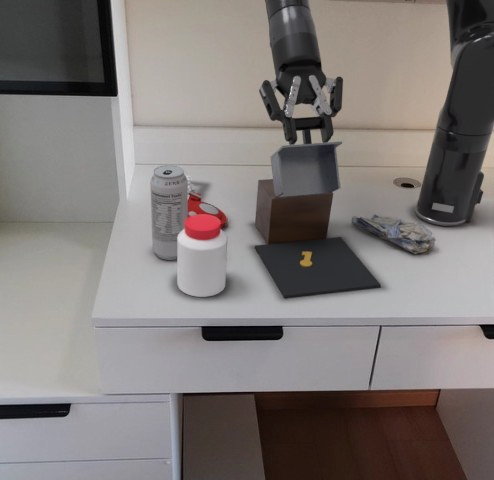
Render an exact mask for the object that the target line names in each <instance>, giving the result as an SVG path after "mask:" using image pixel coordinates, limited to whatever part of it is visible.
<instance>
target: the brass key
mask: <svg viewBox="0 0 494 480" xmlns="http://www.w3.org/2000/svg"><path fill="white" fill-rule="evenodd" d="M311 255H312V252H308V251H306V252H304V251H303V252H302V256H305V258H304V260H302V261H300V265H301V266H303V267H311V266H312V262H311V261H310V259H311Z"/></svg>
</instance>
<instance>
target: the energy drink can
mask: <svg viewBox="0 0 494 480" xmlns="http://www.w3.org/2000/svg"><path fill="white" fill-rule="evenodd" d="M186 176H187V175H185V170H184V168H182V167H181V166H180V165H179V166H178V165H176V164H175V165H174V164H173V165H172V164H164V165H160V166H157V167H155V168H154V169H153V175H152V176H151V178H150V181H149V184H150V188H149V189H150V212H151V218H150V219H151V239H152V240H151V243H152V246H151V247H152V251H153V252H154V254H155V255H156V256H157V257H158V258H159V259H162V260H166V261H167V260H168V261H172V260H177V236H178V234H179V233H180V232H181V231H182V230H183V229H184V222H185V220H186V219H187V218H188V199H189V195H188V180H187V178H186Z"/></svg>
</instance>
